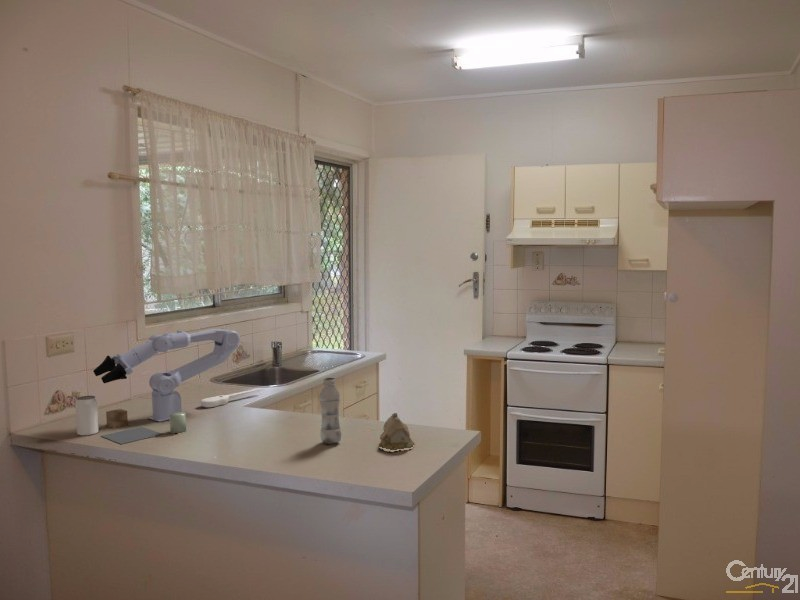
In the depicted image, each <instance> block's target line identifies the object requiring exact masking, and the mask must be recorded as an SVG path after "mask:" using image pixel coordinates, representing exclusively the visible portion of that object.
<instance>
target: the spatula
mask: <svg viewBox="0 0 800 600" xmlns="http://www.w3.org/2000/svg"><path fill="white" fill-rule="evenodd" d="M262 390H263V388H262V387H256V388H253V389H249V390H244V391H239V392H234V393H230V394H226V395H225V394H224V395H223V394H222V395H217V396H211V397H207V398H202V399H201V400H200V401H199V402H200V404H199V405H200V406H201V407H203V408H214V407H218V406H223V405H228V404H229V398H231V397H233V396H238V395H243V394H247V393H252V392H256V391H257V392H259V391H262Z"/></svg>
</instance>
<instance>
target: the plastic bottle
mask: <svg viewBox="0 0 800 600" xmlns="http://www.w3.org/2000/svg"><path fill="white" fill-rule="evenodd" d="M336 383H337V382H336V378H335V377H325V378H323V384H322V385H323V388H322V389H321V391H320V393H319V403H320V409H321V413H320V414H321V425H320V426H321V428H320V434H319V436H320V440H321V442H322V443H323V442H324V443H323V444H326V443H329V444H328V445H331V444H332V443H333V444H337V443H339V442H341V439H342V430H341V426H340V424H341V423H340V403H341V393H340V391H339V390H338V389H337V387H336V386H337V384H336ZM333 444H332V445H333Z"/></svg>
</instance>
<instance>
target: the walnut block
mask: <svg viewBox="0 0 800 600" xmlns="http://www.w3.org/2000/svg"><path fill="white" fill-rule="evenodd" d="M105 413H106V414H105V415H106V416H105V417H106V426H107V427H109V426H110V428H112V429H116V427H117V428H121V427H125V425H126V426H129V421H128V420H129V419H128V410H126V409H122V408H117V409H112V410H108V411H106V412H105Z"/></svg>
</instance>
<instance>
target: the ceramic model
mask: <svg viewBox="0 0 800 600" xmlns="http://www.w3.org/2000/svg"><path fill="white" fill-rule="evenodd" d="M407 425H408V424H406V423H404V422H403V421H402V420H401V419H400V418H399V417H398V413H396V412H394V413H392V414H391V416H390V417H388V418H387V419H386V421H385V422H384V425H383V431H382V432H381V434H380V436H379V439H380V442H379V444H378V448H379V447H382V448H386V449H390V450H397V449H404V448H411V447H413V445H415V446H416V444H415V441H414V440H413V439H412V438H411V434H410V431H409V427H408V426H407Z"/></svg>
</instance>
